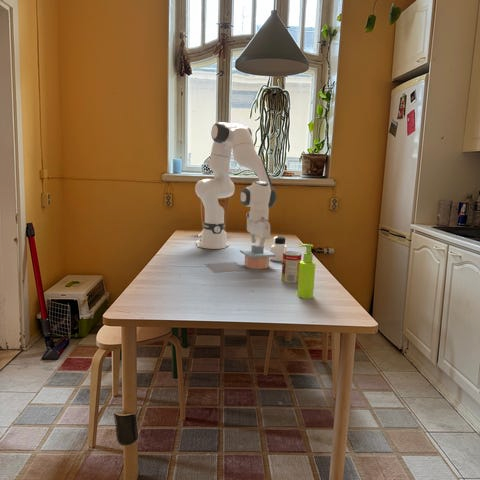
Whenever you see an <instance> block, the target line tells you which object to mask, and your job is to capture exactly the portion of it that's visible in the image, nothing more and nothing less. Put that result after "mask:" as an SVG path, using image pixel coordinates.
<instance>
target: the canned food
mask: <svg viewBox="0 0 480 480" xmlns="http://www.w3.org/2000/svg"><path fill="white" fill-rule="evenodd" d="M302 255H303V254H302V252H299V251H293V250H287V251H285V252H283V262H282V261H281V262H282V263H281V264H282V266H281V278H280V279H281V281H282V282H284V283H290V284H298V279H299V265H300V261H302Z"/></svg>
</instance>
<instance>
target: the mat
mask: <svg viewBox="0 0 480 480" xmlns="http://www.w3.org/2000/svg"><path fill="white" fill-rule="evenodd" d="M204 266H205V267H207V268H208V269H209V270H210V271H211V272H212V273H215V274H217V273H232V272H233V273H234V272H247V271H248V270H247V269H246V268H244V267H243V266H241V265H240V264H239V263H238V262H235V261H234V262H216V263H215V262H213V263H204Z"/></svg>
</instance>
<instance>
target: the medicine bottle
mask: <svg viewBox="0 0 480 480" xmlns="http://www.w3.org/2000/svg"><path fill="white" fill-rule="evenodd" d="M285 251H288V246H287V245H286V237H284V236H282V235H281V236H280V235H279V236H274V237H273V244H272V245H271V246H270V251H269V252H271V253H273V254H275V255H276V256H275V257H270V259H269V261H276V262H283V252H285Z"/></svg>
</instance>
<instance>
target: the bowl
mask: <svg viewBox="0 0 480 480" xmlns="http://www.w3.org/2000/svg"><path fill="white" fill-rule="evenodd" d="M244 266H245V267H247V268H250V269H255V270H256V269H257V270H258V269H267V268H269V267H270V257H258V258H249V257H248V256H246V255H244Z"/></svg>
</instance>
